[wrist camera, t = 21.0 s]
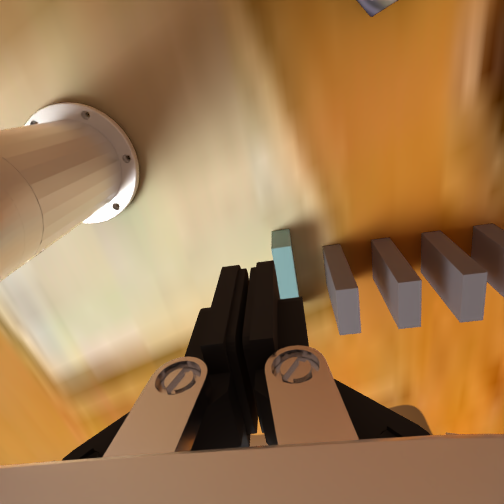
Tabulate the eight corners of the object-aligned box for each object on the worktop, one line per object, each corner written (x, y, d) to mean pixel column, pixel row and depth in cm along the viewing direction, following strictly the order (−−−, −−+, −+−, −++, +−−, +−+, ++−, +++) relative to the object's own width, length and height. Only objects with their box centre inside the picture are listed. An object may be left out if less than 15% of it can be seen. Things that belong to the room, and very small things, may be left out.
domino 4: (420, 272, 43) (460, 322, 34) (421, 233, 41) (463, 275, 32) (438, 270, 43) (483, 319, 34) (440, 230, 41) (487, 272, 32)
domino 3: (372, 278, 44) (398, 328, 35) (371, 239, 42) (398, 283, 33) (390, 276, 44) (420, 326, 34) (389, 237, 42) (421, 280, 32)
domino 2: (326, 283, 44) (339, 335, 35) (322, 246, 42) (335, 290, 33) (343, 281, 44) (361, 332, 35) (340, 243, 42) (358, 287, 33)
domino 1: (271, 231, 42) (284, 304, 46) (271, 248, 38) (285, 328, 42) (289, 228, 42) (300, 302, 46) (290, 246, 37) (303, 326, 41)
